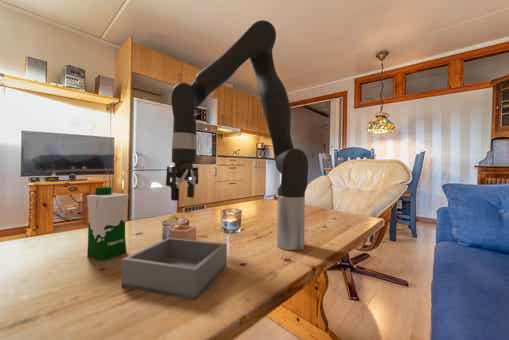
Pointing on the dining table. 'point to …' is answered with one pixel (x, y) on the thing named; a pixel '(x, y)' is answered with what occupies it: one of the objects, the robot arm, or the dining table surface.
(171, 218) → the lemon
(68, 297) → the dining table surface
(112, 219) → the milk carton
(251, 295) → the dining table surface
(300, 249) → the robot arm
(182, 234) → the box
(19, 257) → the dining table surface
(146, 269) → the big crate
